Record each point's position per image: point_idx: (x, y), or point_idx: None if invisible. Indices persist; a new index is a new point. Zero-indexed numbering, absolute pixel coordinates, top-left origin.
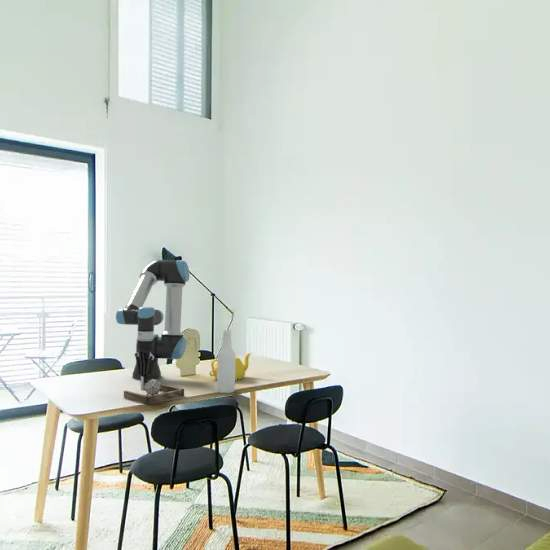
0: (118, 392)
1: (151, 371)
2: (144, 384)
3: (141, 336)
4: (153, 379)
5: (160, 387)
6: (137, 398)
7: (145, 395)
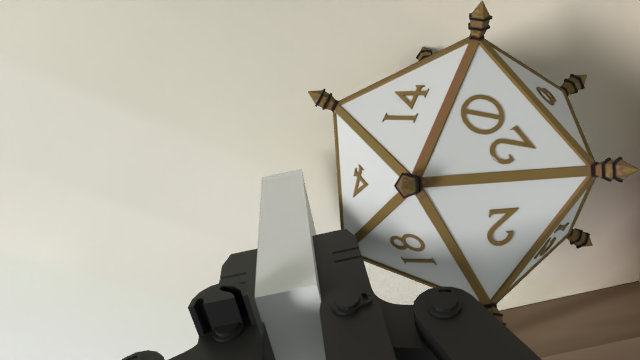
0: (57, 354)
1: (524, 352)
2: None
3: None
4: (452, 191)
5: (537, 74)
6: None
7: (638, 338)
